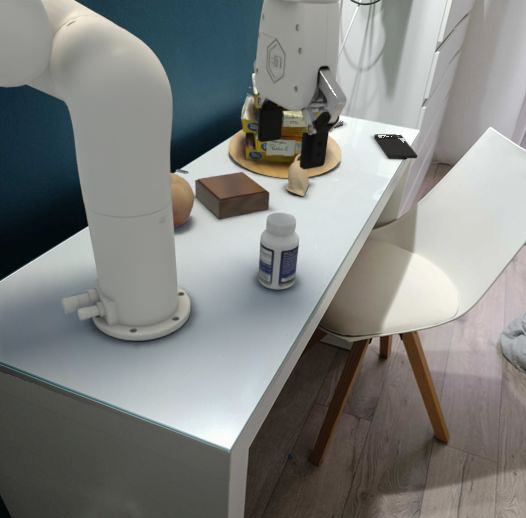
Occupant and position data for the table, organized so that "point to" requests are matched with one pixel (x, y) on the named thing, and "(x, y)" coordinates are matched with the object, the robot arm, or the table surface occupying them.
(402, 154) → the smartphone
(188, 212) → the fruit
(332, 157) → the boxes on round tray
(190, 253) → the table surface
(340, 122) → the pen
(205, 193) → the block
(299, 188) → the decorative ornament
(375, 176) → the table surface
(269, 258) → the pill bottle
